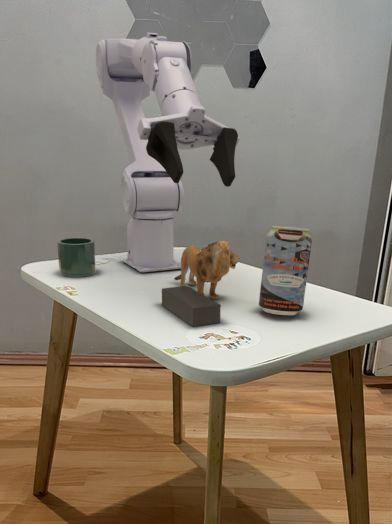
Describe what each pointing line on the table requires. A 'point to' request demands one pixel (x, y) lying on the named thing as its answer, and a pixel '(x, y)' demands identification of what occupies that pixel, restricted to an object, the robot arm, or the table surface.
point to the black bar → (191, 305)
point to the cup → (76, 257)
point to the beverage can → (285, 270)
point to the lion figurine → (207, 265)
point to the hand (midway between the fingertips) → (205, 179)
